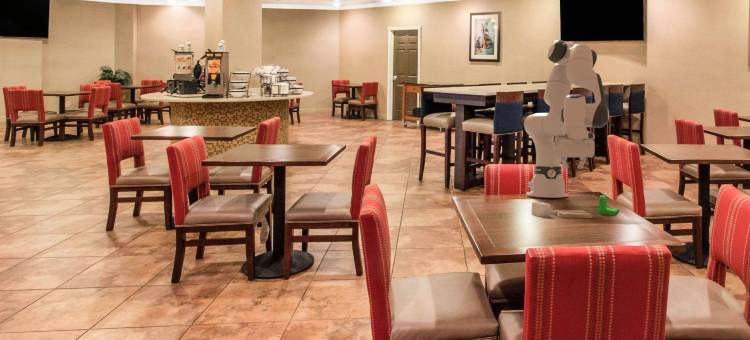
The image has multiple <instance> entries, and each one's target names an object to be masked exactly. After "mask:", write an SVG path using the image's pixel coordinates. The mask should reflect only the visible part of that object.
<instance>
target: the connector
mask: <svg viewBox="0 0 750 340" xmlns="http://www.w3.org/2000/svg"><path fill="white" fill-rule="evenodd" d="M554 210H555V209H551V203H546V202H541V201H533V202H532V201H531V215H532V216H535V217H536V216H537V217H541V218H550V217H551V214H553V213H554Z"/></svg>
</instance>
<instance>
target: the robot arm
mask: <svg viewBox="0 0 750 340" xmlns="http://www.w3.org/2000/svg"><path fill="white" fill-rule="evenodd" d="M597 54H598V53H597V52H596V51H595V50H593V49H591V47H590V46H589V45H587V44H585V43H572V42H568V41H564V40H561V39H556V40H554V41H553V42H552V43H551V44H550V45H549V48H548V51H547V58H548V60H549V61H550V62H552V63H553V64H554V65H553V66H552V68H551V70H550V72H549V75H548V78H547V81H546V85H545V90H544V95H543V100H544V102H545V104H547V105H548V106H549V112H536V113H532V114H529V115H528V116H526V117H525V119H524V123H523V124H524V125H523V127H524V130H525V132H526V134H527V135H528V136H530V138H531V139H532V141H533V143H534V146H535V156H536V157H535V167H534V171H533V173H534V176H533V177H532V179H531V180H530V181H528V182H527V188H529V190H530V191H527V192H526V196H527V197H533V198H534V197H535V198H549V199H550V198H554V199H556V198H567V197H569V194H567V193H566V185H565V178H564V177H563V176H562V174H563V173H562V171H563V170H567V169H569V167H570V165H569V164H568V163H567V161H568V158H579V163H577V169H579V170H580V169H584V168H585V167H584V165H585V163H586V161H587V158H593V157H595V150H596V149H595V148H596V147H595V143H596V142H595V141H594V140H595V138H596V137H595V135H596V134H595V133H593V132H591V131H589V130H587V128H598V129H602V128H604V127H605V126H606V125H607V124H609V120H610V110H609V108H608V104H607V101H606V96H605V91H604V86H603V85H604V84H603V82H602V81H603V80H602V78H601V75H600V74H599V73H597V72H596V71H595V70H594V67H595V66H596V62H597V60H598V56H597ZM572 85H574V86H576V87H579V88H582V89H583V88H584V89H585V90H589V91H591V92H592V93H593V96H594V101H595V102H592V103H586V101H587V100H586V97H585V95H583V94H578V93H574V94H570V93H571V88H572ZM553 137H554V140H553ZM561 165H562V166H561Z"/></svg>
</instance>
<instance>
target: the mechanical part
mask: <svg viewBox="0 0 750 340" xmlns="http://www.w3.org/2000/svg"><path fill="white" fill-rule="evenodd" d="M607 197H608V196H607V195H603V194H601V195H600V196H599V198H598V199H599V201H598V214H601V215H609V216H615V215H616V214H617V213H618V212H619V211H620V210H619V209H620V208H615V207H608V198H607ZM618 210H619V211H618Z"/></svg>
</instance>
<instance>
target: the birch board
mask: <svg viewBox="0 0 750 340" xmlns="http://www.w3.org/2000/svg"><path fill="white" fill-rule="evenodd" d="M553 210H554V214H553V215H555V214H556V215H555V216H557V217H560V218H562V219H564V218H565V219H593V217H594V216H593V214H592V213H590V212H587V211H585V210H581V209H553Z"/></svg>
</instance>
